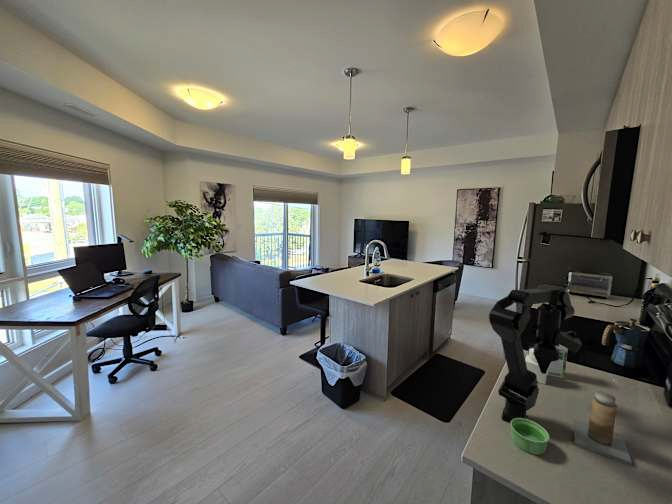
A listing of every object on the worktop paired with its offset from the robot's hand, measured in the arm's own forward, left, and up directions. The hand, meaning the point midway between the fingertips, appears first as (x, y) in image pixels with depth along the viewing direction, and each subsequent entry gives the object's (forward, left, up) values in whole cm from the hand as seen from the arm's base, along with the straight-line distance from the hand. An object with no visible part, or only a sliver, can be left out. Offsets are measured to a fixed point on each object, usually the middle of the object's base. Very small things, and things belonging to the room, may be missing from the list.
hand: (543, 367), depth 94 cm
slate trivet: (-10, -14, -13) cm, 21 cm away
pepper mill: (-10, -14, -12) cm, 21 cm away
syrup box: (+26, -4, -13) cm, 29 cm away
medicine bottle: (+18, +2, -13) cm, 22 cm away
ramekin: (-23, +2, -13) cm, 27 cm away
